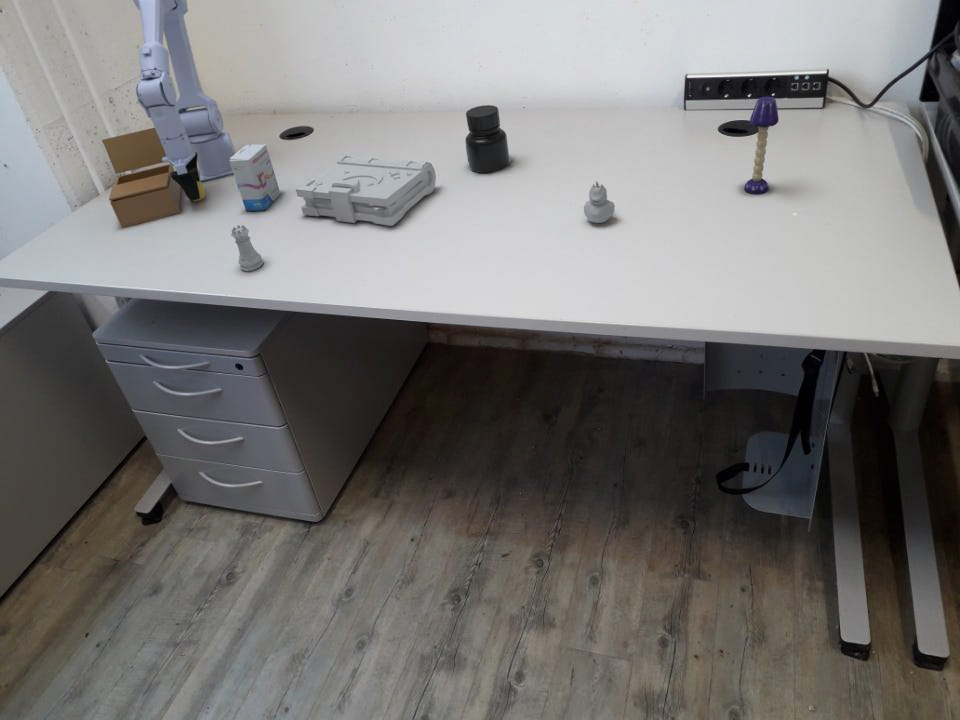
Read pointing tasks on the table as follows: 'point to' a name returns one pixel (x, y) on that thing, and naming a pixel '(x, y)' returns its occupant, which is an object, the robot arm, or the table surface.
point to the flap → (134, 150)
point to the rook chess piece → (246, 249)
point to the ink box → (255, 177)
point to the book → (367, 189)
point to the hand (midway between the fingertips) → (195, 193)
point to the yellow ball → (200, 191)
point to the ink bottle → (486, 140)
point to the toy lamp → (761, 141)
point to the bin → (145, 195)
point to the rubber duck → (598, 205)
